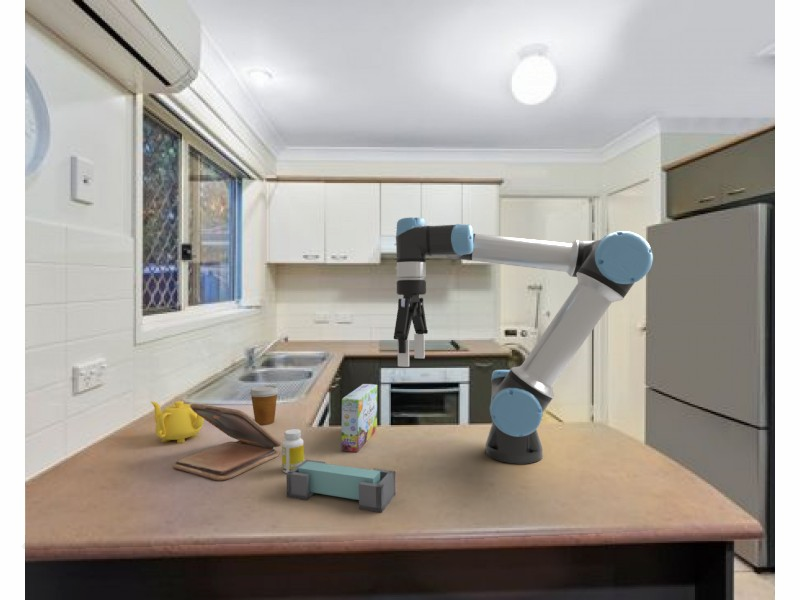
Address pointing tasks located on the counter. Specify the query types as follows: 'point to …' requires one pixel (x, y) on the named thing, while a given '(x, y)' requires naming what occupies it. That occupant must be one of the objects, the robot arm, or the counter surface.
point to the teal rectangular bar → (337, 479)
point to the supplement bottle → (292, 450)
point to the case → (230, 445)
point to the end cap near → (377, 492)
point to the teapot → (177, 422)
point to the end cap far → (299, 483)
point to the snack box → (358, 417)
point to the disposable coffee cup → (264, 403)
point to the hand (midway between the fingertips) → (412, 362)
